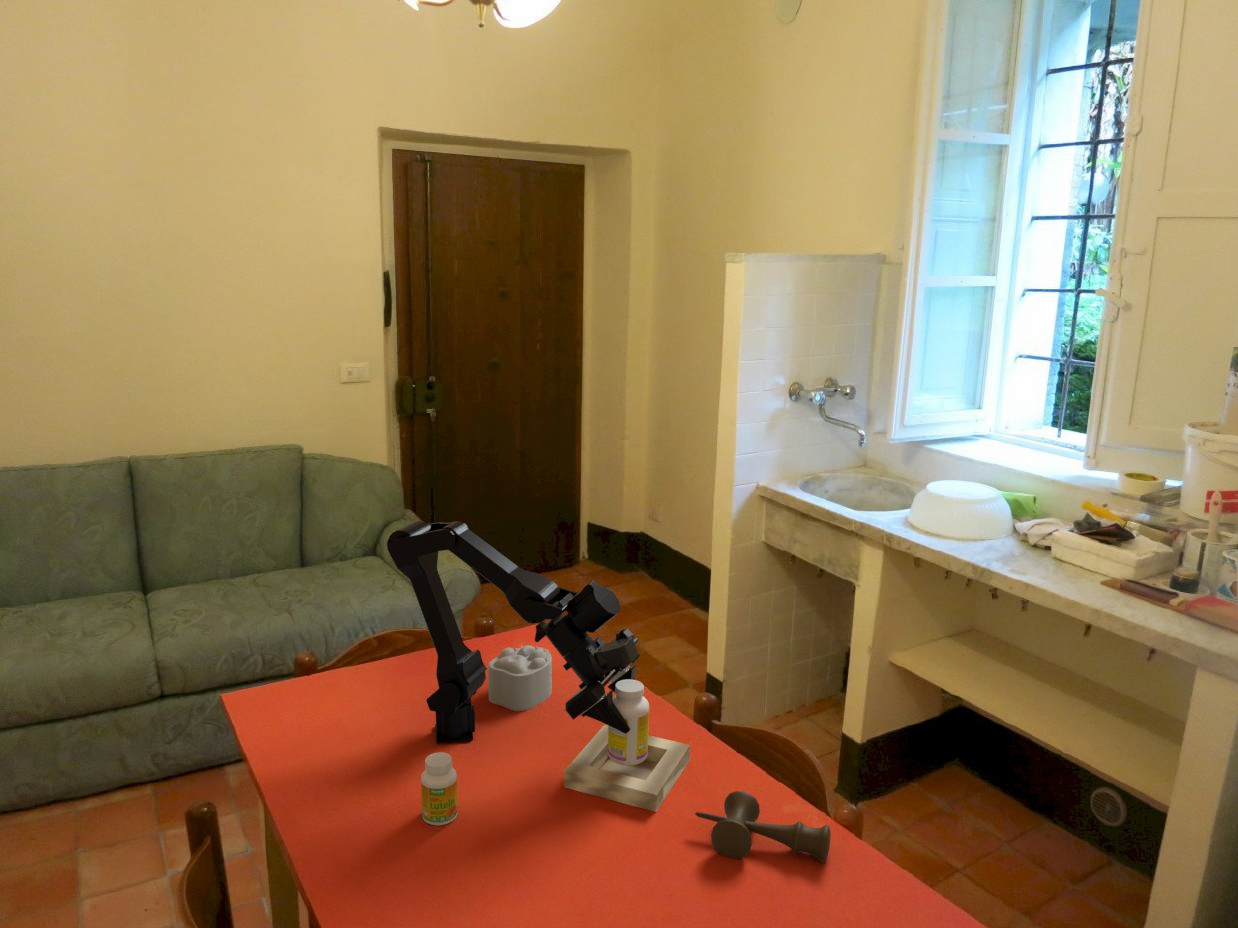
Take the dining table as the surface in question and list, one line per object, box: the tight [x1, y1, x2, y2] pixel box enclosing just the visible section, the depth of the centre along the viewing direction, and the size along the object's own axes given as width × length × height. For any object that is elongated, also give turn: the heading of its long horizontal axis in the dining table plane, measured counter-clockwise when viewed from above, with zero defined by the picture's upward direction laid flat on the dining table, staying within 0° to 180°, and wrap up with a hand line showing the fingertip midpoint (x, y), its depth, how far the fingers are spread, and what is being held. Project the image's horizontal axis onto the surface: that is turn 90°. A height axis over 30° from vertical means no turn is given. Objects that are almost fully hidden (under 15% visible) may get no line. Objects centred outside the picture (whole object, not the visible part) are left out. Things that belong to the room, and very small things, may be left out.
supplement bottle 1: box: [420, 752, 459, 826], centre depth 142 cm, size 5×5×10 cm
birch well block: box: [563, 724, 691, 813], centre depth 154 cm, size 16×16×3 cm
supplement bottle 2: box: [607, 679, 650, 765], centre depth 153 cm, size 7×7×13 cm
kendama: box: [694, 790, 832, 864], centre depth 137 cm, size 6×10×20 cm
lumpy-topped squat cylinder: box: [487, 644, 553, 712], centre depth 180 cm, size 10×13×9 cm
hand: (636, 721), depth 152 cm, fingers closed on supplement bottle 2, 7 cm apart
